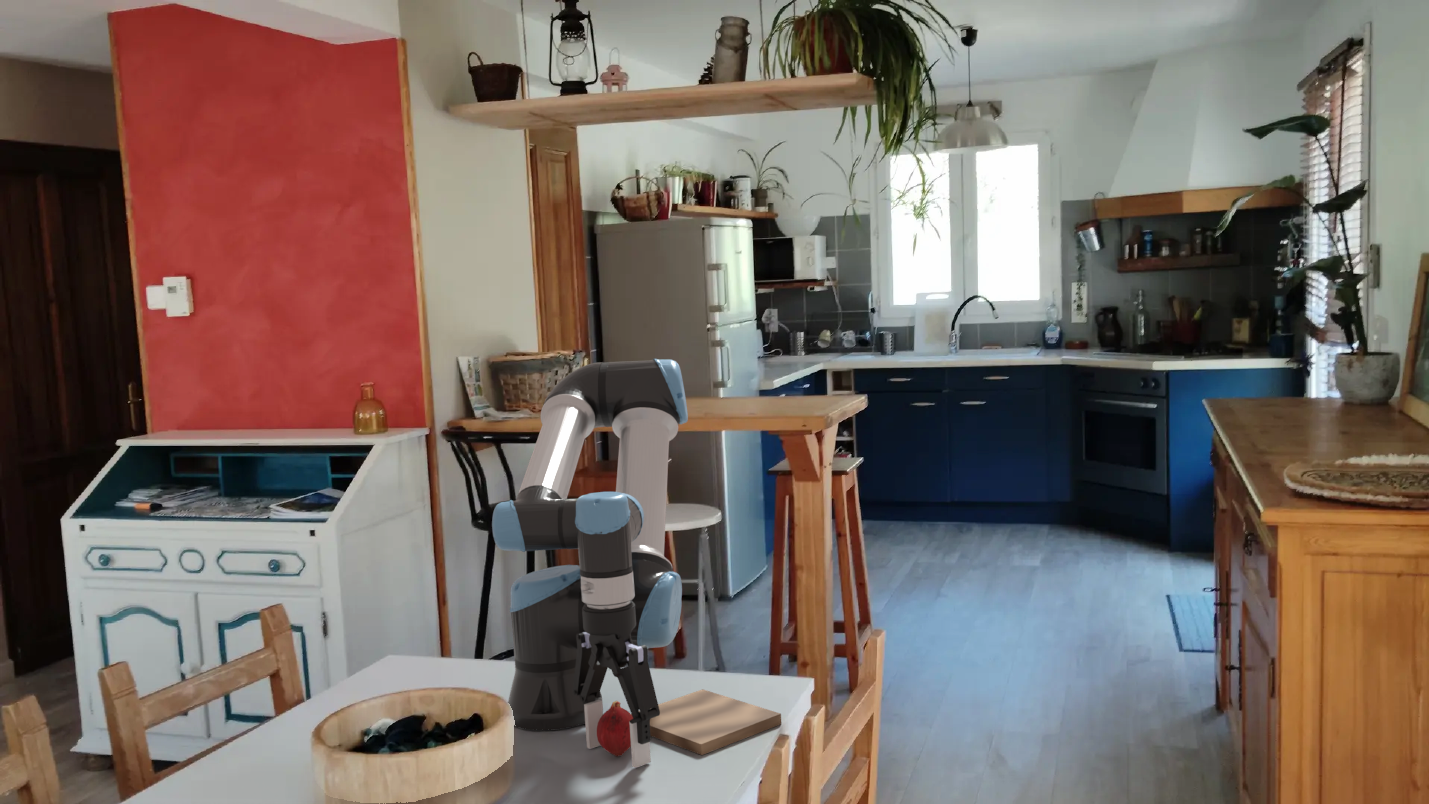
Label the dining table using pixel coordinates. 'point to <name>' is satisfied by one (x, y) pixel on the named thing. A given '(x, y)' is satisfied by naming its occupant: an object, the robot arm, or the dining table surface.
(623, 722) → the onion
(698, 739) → the chopping board
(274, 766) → the dining table surface
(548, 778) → the dining table surface
